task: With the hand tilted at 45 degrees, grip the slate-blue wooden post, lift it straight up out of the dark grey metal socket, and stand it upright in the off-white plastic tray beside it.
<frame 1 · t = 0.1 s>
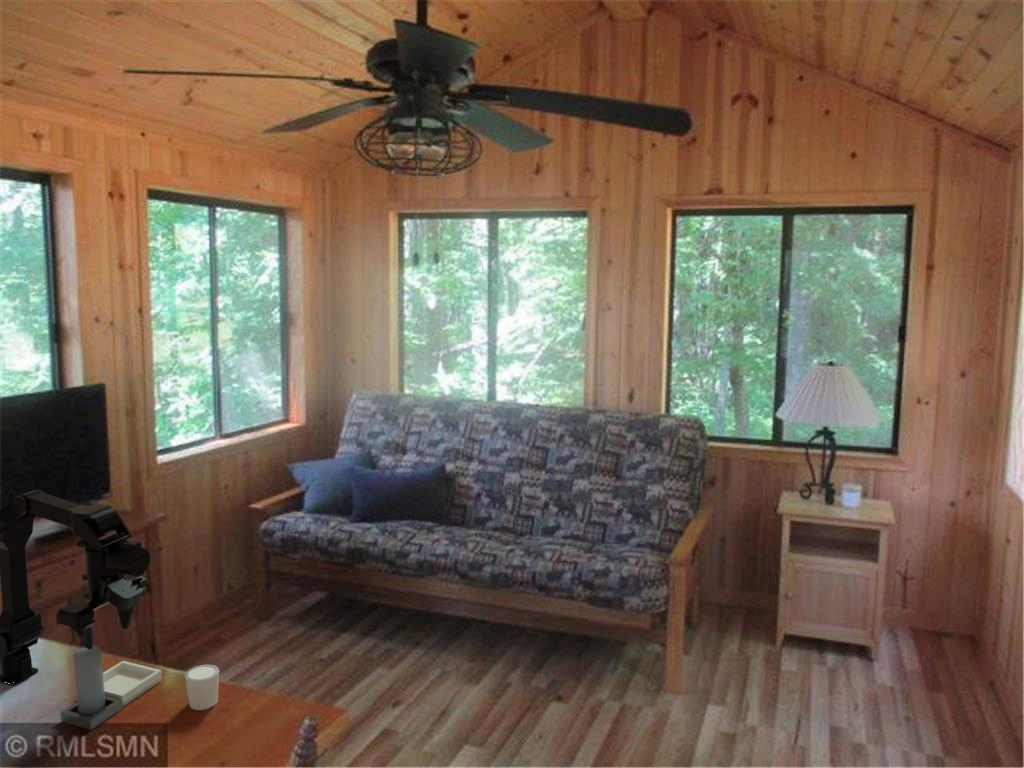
hand: (107, 638, 167), 15 cm above the table, tool pointing down, fingers open, 9 cm apart
socket: (92, 714, 165), on the table
white cup: (203, 703, 170), on the table
tray: (123, 688, 175), on the table
post: (89, 683, 163), in the socket
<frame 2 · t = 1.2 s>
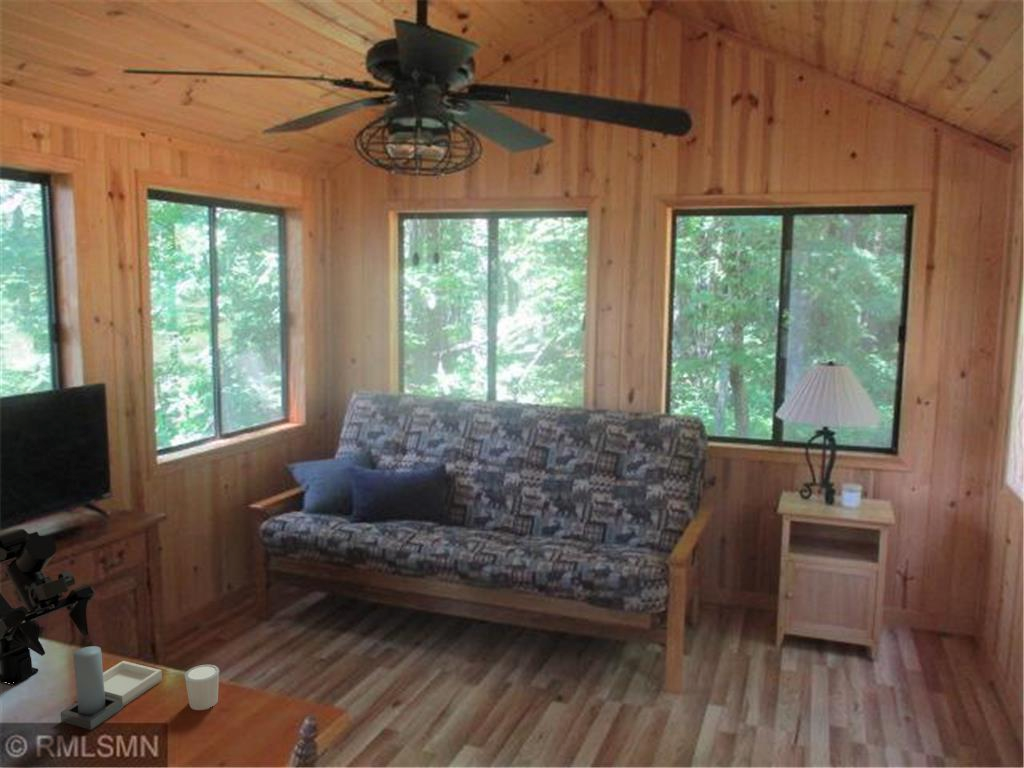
hand: (65, 644, 166), 13 cm above the table, tool tilted 45°, fingers open, 9 cm apart
nothing on the table moved.
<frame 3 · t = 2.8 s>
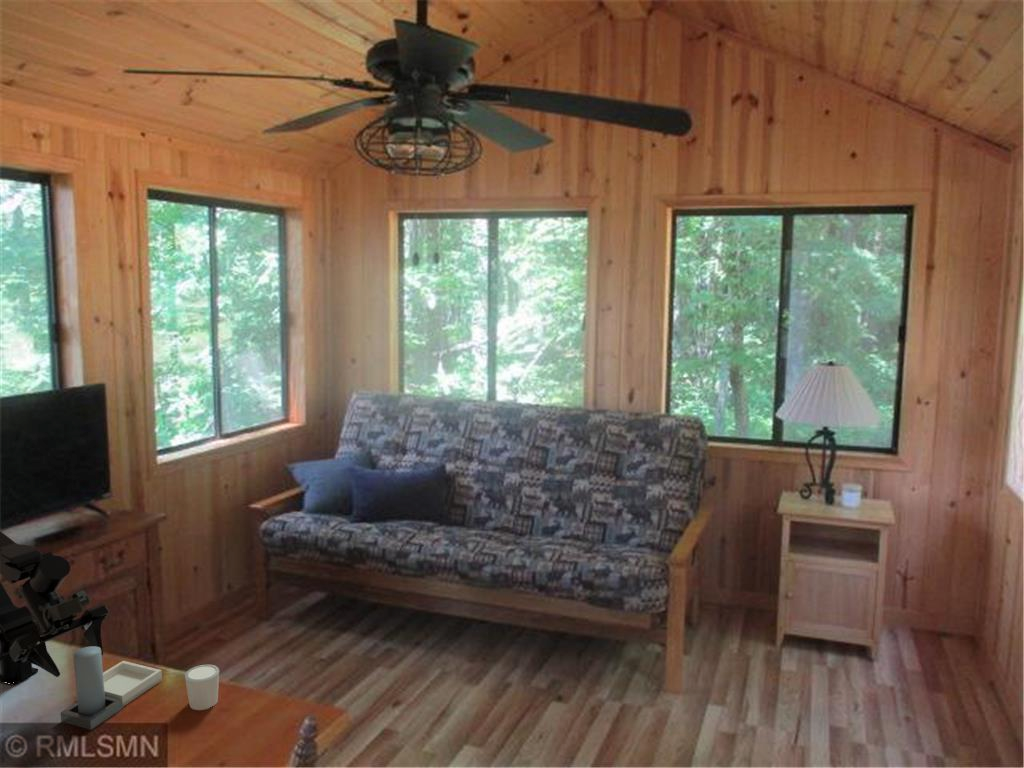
hand: (80, 665, 164), 10 cm above the table, tool tilted 45°, fingers open, 9 cm apart
nothing on the table moved.
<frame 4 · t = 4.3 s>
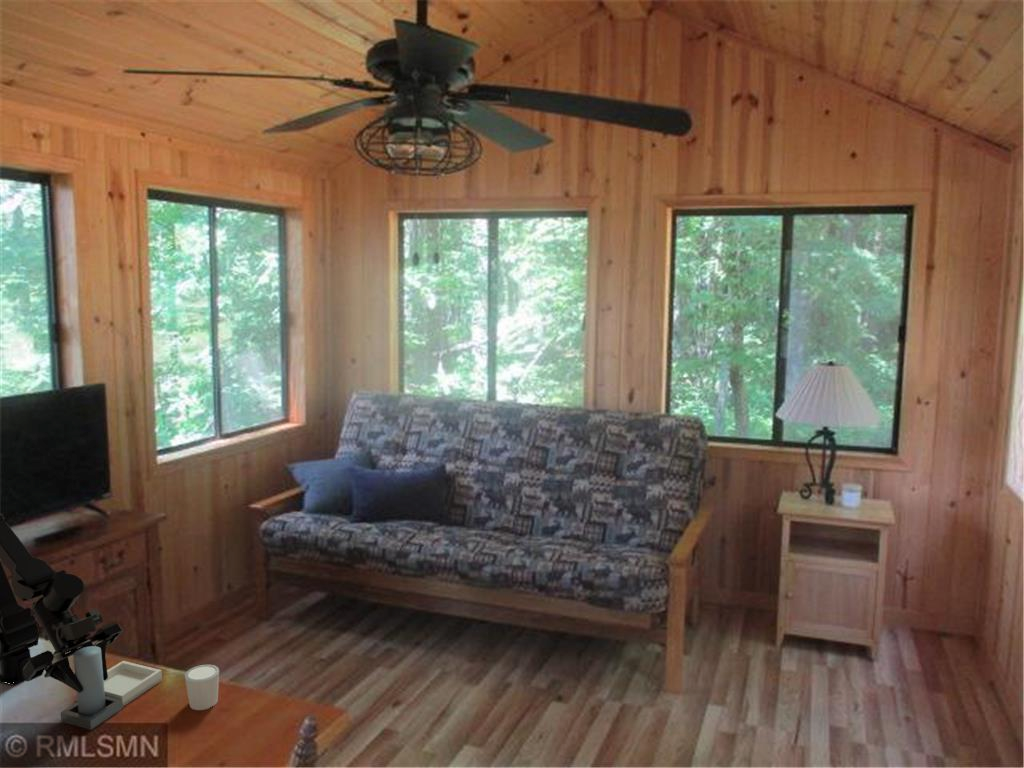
hand: (94, 685, 163), 7 cm above the table, tool tilted 45°, fingers closed on post, 5 cm apart
post: (89, 683, 163), in the socket, touching gripper
everything else where it was.
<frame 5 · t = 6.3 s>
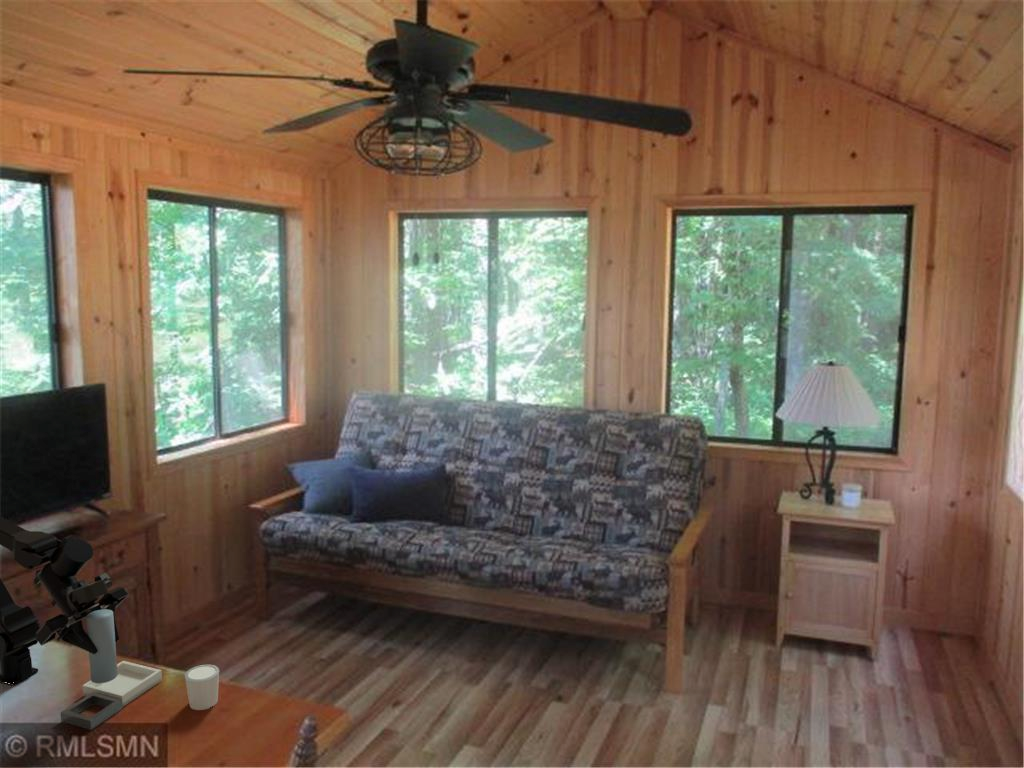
hand: (107, 646, 166), 13 cm above the table, tool tilted 45°, fingers closed on post, 5 cm apart
post: (102, 646, 166), point 13 cm above the table, touching gripper
everything else where it was.
when the fingers open (9 cm above the table, at t = 8.1 s): post drops 1 cm, resting on tray.
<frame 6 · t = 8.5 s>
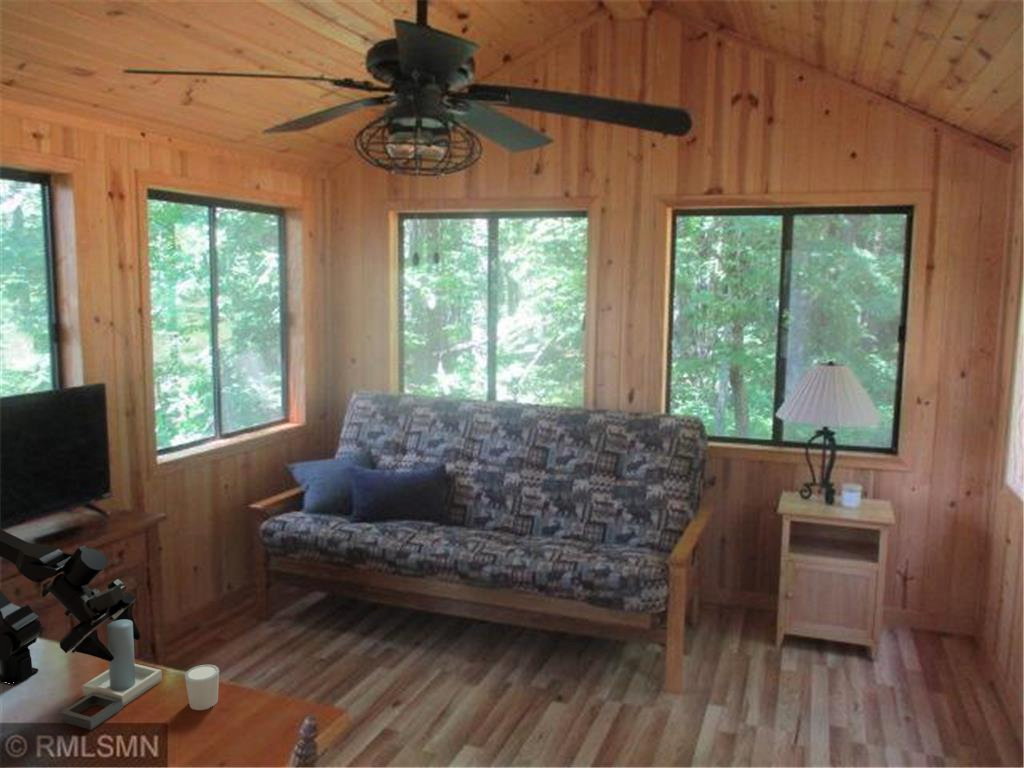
hand: (126, 649, 173), 9 cm above the table, tool tilted 45°, fingers open, 9 cm apart
post: (121, 654, 173), in the tray, point 8 cm above the table
everything else where it was.
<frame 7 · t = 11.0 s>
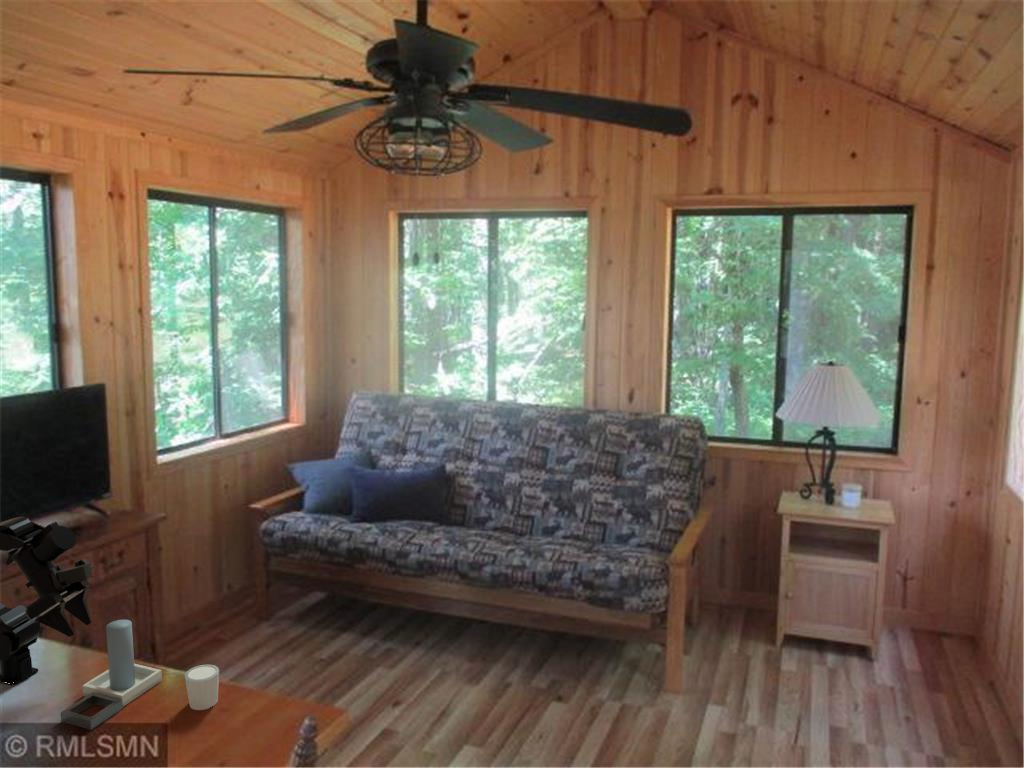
hand: (81, 629, 173), 13 cm above the table, tool tilted 35°, fingers open, 9 cm apart
nothing on the table moved.
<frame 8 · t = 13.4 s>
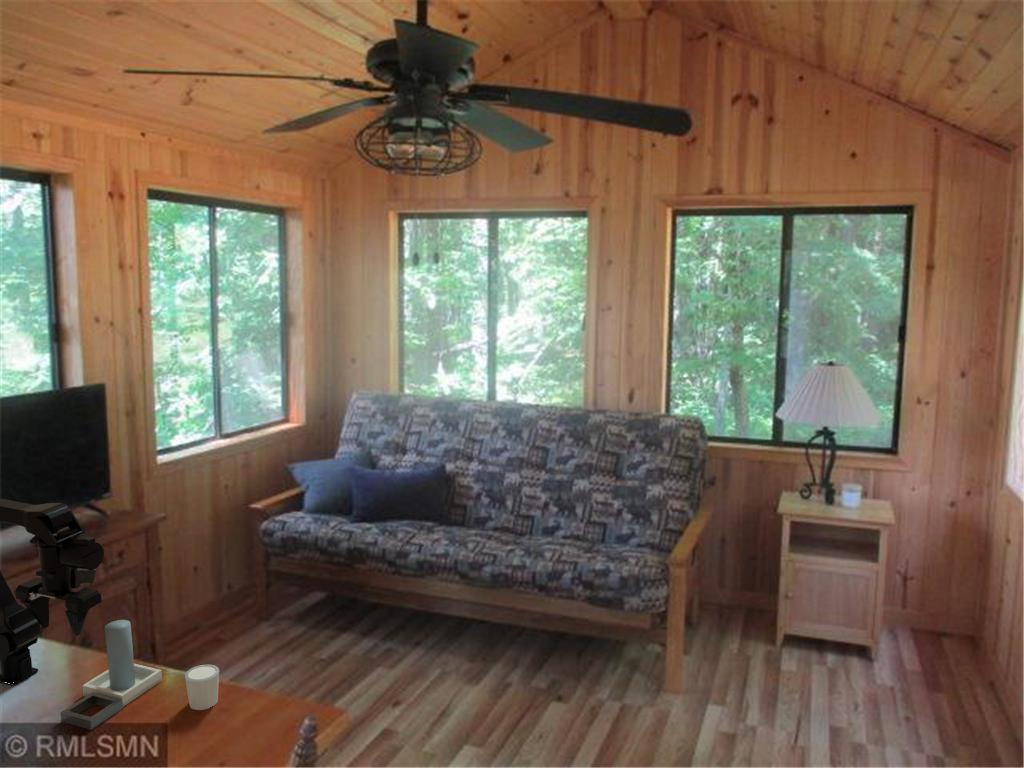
hand: (61, 631, 173), 13 cm above the table, tool pointing down, fingers open, 9 cm apart
nothing on the table moved.
at the end: post 0.1 cm off-centre on the tray, point 7.8 cm above the tray's base; post tilted 1°; the gripper is holding nothing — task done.
